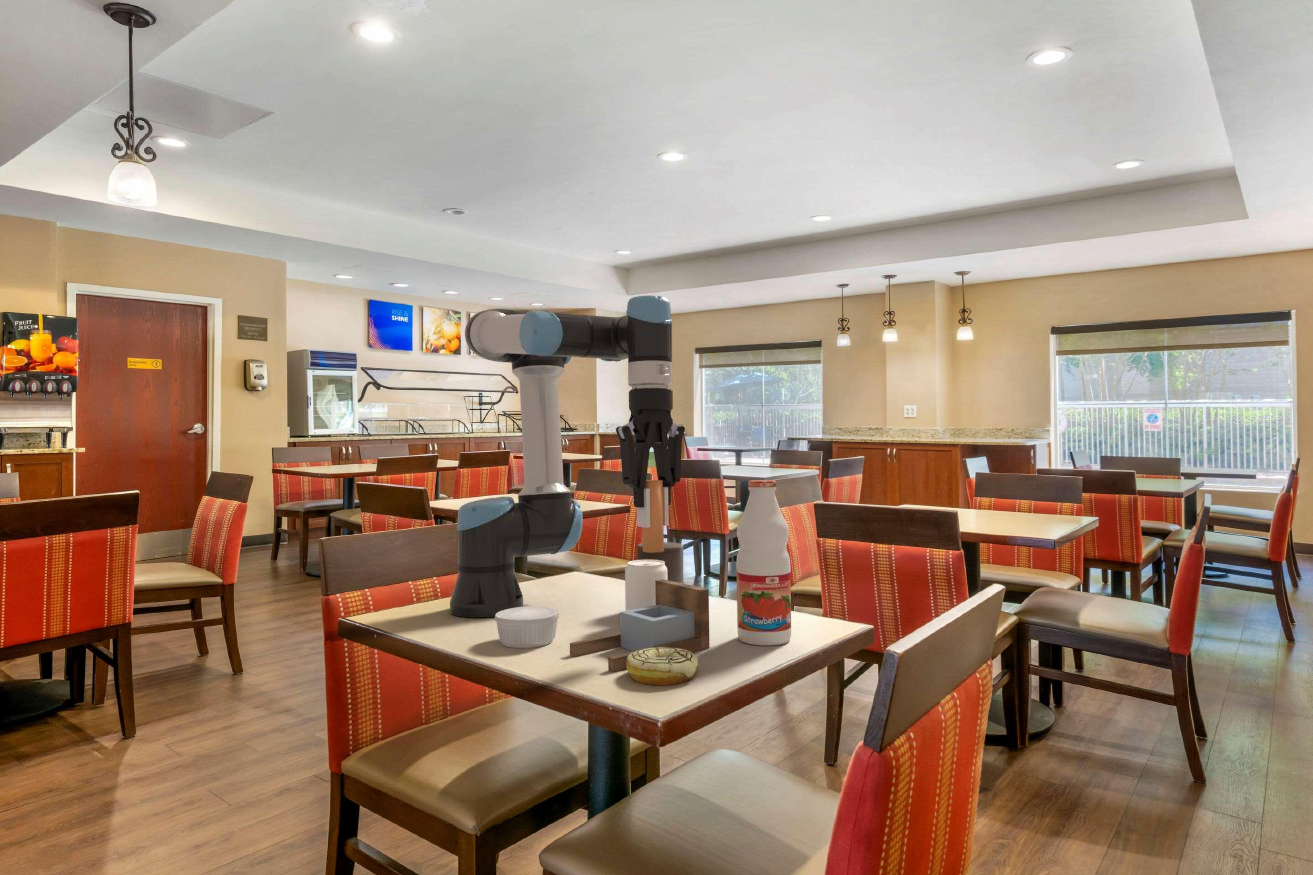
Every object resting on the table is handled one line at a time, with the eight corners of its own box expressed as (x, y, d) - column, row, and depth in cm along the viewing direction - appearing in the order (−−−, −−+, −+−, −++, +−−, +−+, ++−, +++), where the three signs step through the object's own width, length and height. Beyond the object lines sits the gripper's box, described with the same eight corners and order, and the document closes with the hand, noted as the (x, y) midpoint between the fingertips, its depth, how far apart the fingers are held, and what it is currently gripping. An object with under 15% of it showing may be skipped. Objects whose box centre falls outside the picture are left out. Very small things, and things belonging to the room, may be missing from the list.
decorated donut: (706, 685, 110) (706, 659, 110) (633, 691, 107) (633, 665, 107) (688, 664, 120) (688, 640, 120) (621, 669, 118) (621, 645, 118)
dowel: (638, 551, 129) (637, 480, 129) (655, 549, 131) (654, 479, 132) (650, 553, 126) (649, 481, 127) (668, 551, 128) (666, 480, 129)
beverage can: (617, 627, 143) (617, 564, 143) (638, 618, 150) (637, 558, 150) (655, 632, 139) (654, 567, 139) (675, 622, 147) (674, 560, 147)
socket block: (620, 646, 130) (620, 611, 130) (661, 637, 135) (660, 604, 136) (653, 658, 123) (652, 621, 123) (694, 647, 128) (694, 612, 128)
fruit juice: (783, 631, 138) (781, 478, 139) (797, 645, 129) (795, 481, 129) (732, 633, 138) (730, 479, 138) (743, 647, 128) (741, 482, 128)
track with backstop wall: (569, 654, 125) (569, 594, 125) (663, 634, 138) (663, 579, 138) (612, 671, 116) (612, 606, 116) (709, 647, 128) (708, 588, 128)
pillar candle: (647, 617, 151) (647, 542, 151) (630, 607, 160) (630, 536, 160) (691, 613, 155) (691, 539, 155) (672, 603, 164) (672, 534, 164)
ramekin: (491, 637, 138) (490, 608, 138) (551, 631, 142) (551, 603, 142) (500, 653, 127) (499, 622, 127) (565, 646, 131) (565, 616, 131)
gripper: (624, 384, 121) (627, 531, 121) (701, 388, 131) (703, 523, 131) (598, 388, 127) (600, 528, 127) (673, 390, 137) (675, 520, 137)
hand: (652, 525), depth 129 cm, fingers closed on dowel, 3 cm apart
